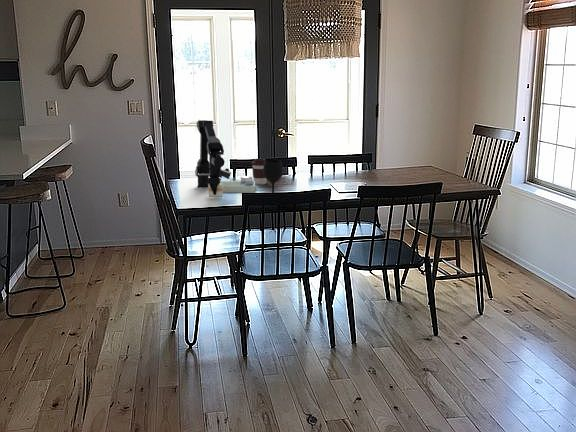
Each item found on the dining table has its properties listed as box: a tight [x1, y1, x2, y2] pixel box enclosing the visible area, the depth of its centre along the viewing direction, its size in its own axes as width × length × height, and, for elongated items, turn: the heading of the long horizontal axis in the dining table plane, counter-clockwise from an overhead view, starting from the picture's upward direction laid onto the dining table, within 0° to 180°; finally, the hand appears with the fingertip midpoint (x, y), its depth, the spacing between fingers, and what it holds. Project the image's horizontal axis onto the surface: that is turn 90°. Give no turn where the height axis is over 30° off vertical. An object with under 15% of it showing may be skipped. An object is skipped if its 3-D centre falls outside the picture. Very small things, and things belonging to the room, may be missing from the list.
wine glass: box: [263, 159, 284, 194], centre depth 329 cm, size 10×10×20 cm
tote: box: [220, 180, 256, 193], centre depth 350 cm, size 21×15×4 cm
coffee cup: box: [250, 158, 267, 185], centre depth 368 cm, size 10×10×15 cm
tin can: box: [240, 175, 254, 186], centre depth 350 cm, size 7×7×7 cm
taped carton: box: [207, 183, 223, 197], centre depth 334 cm, size 7×5×7 cm
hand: (215, 193), depth 334 cm, fingers open, 6 cm apart
